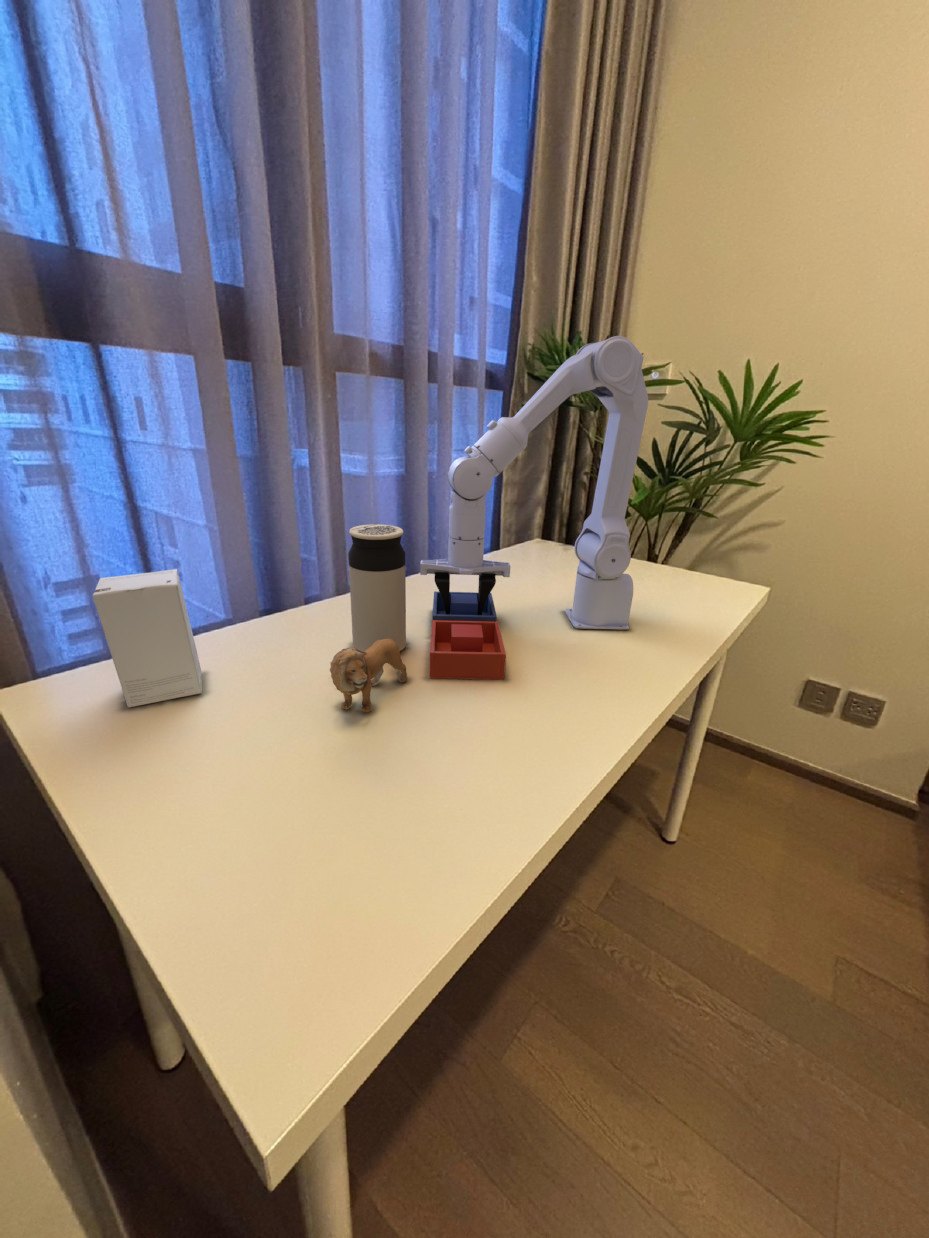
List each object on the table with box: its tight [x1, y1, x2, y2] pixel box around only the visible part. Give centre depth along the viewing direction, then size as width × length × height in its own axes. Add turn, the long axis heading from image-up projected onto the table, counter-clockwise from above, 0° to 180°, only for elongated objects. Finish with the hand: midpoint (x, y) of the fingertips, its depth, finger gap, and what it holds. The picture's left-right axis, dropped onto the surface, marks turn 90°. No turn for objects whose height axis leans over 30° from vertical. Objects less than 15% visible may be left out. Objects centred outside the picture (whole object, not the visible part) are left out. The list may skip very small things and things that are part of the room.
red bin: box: [429, 619, 507, 681], centre depth 73 cm, size 10×11×4 cm
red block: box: [451, 624, 483, 652], centre depth 73 cm, size 4×4×4 cm
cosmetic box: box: [92, 568, 203, 708], centre depth 60 cm, size 8×6×15 cm
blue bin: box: [431, 590, 498, 622], centre depth 85 cm, size 10×11×4 cm
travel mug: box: [347, 523, 407, 652], centre depth 74 cm, size 8×8×18 cm
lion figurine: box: [329, 639, 408, 713], centre depth 62 cm, size 15×5×9 cm, turn 162°
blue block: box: [450, 594, 478, 615], centre depth 85 cm, size 4×4×4 cm
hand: (463, 615), depth 85 cm, fingers open, 5 cm apart
